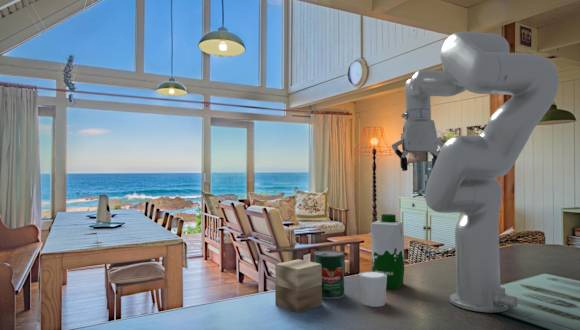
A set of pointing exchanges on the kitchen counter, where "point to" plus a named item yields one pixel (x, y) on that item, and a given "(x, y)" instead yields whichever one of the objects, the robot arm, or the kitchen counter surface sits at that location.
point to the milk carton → (388, 249)
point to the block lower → (298, 298)
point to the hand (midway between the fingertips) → (419, 170)
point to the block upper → (298, 274)
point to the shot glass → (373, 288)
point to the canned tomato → (331, 273)
